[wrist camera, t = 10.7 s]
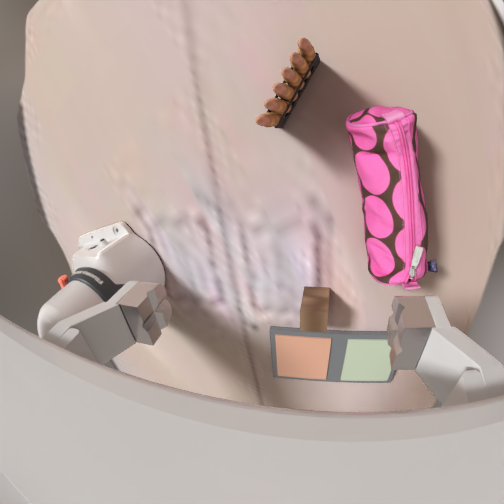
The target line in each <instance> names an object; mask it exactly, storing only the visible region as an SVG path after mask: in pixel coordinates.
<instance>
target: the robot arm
mask: <svg viewBox="0 0 504 504" xmlns="http://www.w3.org/2000/svg"><path fill="white" fill-rule="evenodd" d="M72 268H73V274H72V276H71V278H70V279H69V280H68V277H67V275H63V276H61V277H60V278H58V281H59V283H60V285H61V288H62V289H61V290H60V291H59V292H58V293H57V294H55V295H54V296H53V297H52V298H51V299H50V300H49V301H47V302H46V303H45V304H44V305H43V306H42V308H41V310H40V312H39V316H38V321H37V327H38V332H39V337H38V336H36V335H34V334H32V333H30V332H29V331H27V330H25V329H23V328H21V327H19V326H18V325H16V324H14V323H12V322H10V321H9V320H7V319H6V318H4V317H2V316H1V315H0V504H504V367H503V365H502V363H500V362H499V361H498V360H497V359H495V358H494V357H493V356H491V354H489V353H488V352H487V351H486V350H484V349H483V348H482V347H481V346H479V345H478V344H477V343H475V342H474V341H473V340H472V339H470V338H469V337H468V336H466V335H465V334H464V333H463V332H461V331H460V330H459V329H457V328H456V327H451V325H450V323H449V320H448V318H447V316H446V313H445V311H444V309H443V306H442V304H441V302H440V300H439V298H438V296H437V295H423V296H395V297H394V300H393V303H392V310H393V314H392V315H391V316H390V317H389V321H388V327H387V342H388V345H389V346H390V347H391V350H390V354H389V357H390V364H391V370H415V371H416V373H417V374H418V375H419V376H420V378H421V379H422V380H423V382H424V383H425V384H426V385H427V387H428V388H429V389H430V390H431V392H432V393H433V394H434V396H435V397H436V398H437V400H438V401H439V402H440V403H441V405H442V407H438V408H429V409H419V410H407V411H389V412H331V411H313V410H300V409H289V408H280V407H271V406H264V405H257V404H250V403H244V402H238V401H232V400H227V399H221V398H216V397H212V396H207V395H202V394H198V393H194V392H189V391H185V390H181V389H177V388H174V387H170V386H166V385H163V384H159V383H156V382H152V381H149V380H146V379H142V378H139V377H136V376H133V375H130V374H127V373H124V372H121V371H118V370H115V369H113V368H110V367H107V366H104V365H103V364H105V363H106V362H108V361H109V360H111V359H112V358H114V357H115V356H117V355H118V354H120V353H121V352H123V351H124V350H126V349H127V348H129V347H130V346H132V345H133V344H135V343H136V342H139V343H144V344H148V345H154V344H155V342H156V341H157V340H158V338H159V337H160V335H161V329H163V328H165V327H166V326H167V325H168V324H169V322H170V320H171V316H172V308H171V305H170V302H169V301H168V300H167V299H166V298H165V297H166V295H167V292H166V289H165V287H164V285H165V272H164V268H163V265H162V263H161V261H160V259H159V257H158V255H157V254H156V252H155V251H154V250H153V248H152V247H151V246H150V245H149V244H148V243H147V242H145V241H144V240H143V239H141V238H140V237H138V236H137V235H136V234H134V233H133V231H132V230H131V229H130V227H129V226H128V225H127V224H126V223H125V222H123V221H120V222H117V223H114V224H111V225H108V226H105V227H102V228H99V229H97V230H94V231H91V232H88V233H85V234H83V235H81V236H80V237H79V250H78V251H77V252H76V253H75V254H74V255H73V257H72Z"/></svg>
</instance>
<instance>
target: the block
mask: <svg viewBox="0 0 504 504" xmlns="http://www.w3.org/2000/svg"><path fill="white" fill-rule="evenodd" d="M329 291H330V288H325V287H304V292H303V298H302V303H301V309H300V331H309V332H327V322H328V310H329Z"/></svg>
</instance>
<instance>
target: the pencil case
mask: <svg viewBox="0 0 504 504" xmlns="http://www.w3.org/2000/svg"><path fill="white" fill-rule="evenodd" d="M416 122H417V115H416V113H414V111H413V110H409V109H406V108H402V107H383V106H374V107H371V108H367V109H364V110H361V111H359V112H357V113H353V114H351V115H349V116H348V117H347V118H346V122H345V125H346V128H347V131H348V134H349V138H350V142H351V146H352V149H353V156H354V162H355V166H356V170H357V174H358V182H359V187H360V191H361V195H362V202H363V207H362V209H363V213H364V228H365V242H366V248H367V256H368V270H369V272H370V274H371V275H372V277H373V278H374V279H375V280H376V281H377V282H379V283H381V284H384V285H400V284H402V286H403V288H404V289H405V290H414V289H420V288H421V287H420V286H419V285H418V283H417V281H416V280H418V279H420V278H422V277H423V276H424V275H425V274H426V272H427V270H429V271H430V272H438V271H437V264H436V260H431V261H430V262H427V259H426V253H427V245H428V222H427V213H426V206H425V199H424V193H423V189H422V186H421V182H420V172H419V155H418V135H417V129H416Z"/></svg>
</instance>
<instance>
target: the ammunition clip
mask: <svg viewBox="0 0 504 504" xmlns="http://www.w3.org/2000/svg"><path fill="white" fill-rule="evenodd" d="M298 47H299V48H298V51H299V53H296V52H293V53H291V54H290V61H291V66H292V67H291V68H288V67H286V68H283V69H282V71H281V74H282V76H283V79H284V81H283V83H276V84H274V85H273V90H274V92H275V93H276V96H275V98H272V99H267V100H266V101H265V102H264V106H265V107H266V108H267V109H268V111H267V112H266V113H264V114H261V115H259V116H258V117H257V118H256V123H257V124H258V125H261V126H265V127H272V126H275V128H283V127H284V125H285V123H286V121H287V119H288V117H289V116H290V114H291V112H292V110H293V108H294V107H295V105H296V103H297V101H298V99H299V98H300V96H301V94H302V92H303V90H304V89H305V87H306V85H307V83H308V82H309V80H310V78H311V76H312V74H313V73H314V71H315V69H316V67H317V66H318V64H319V62H320V58H319V55H318V53H315V51H314V47H313V46H312V45H311V44H310V42H309V41H308V39H306V38H303V37H302V38H300V39H299V41H298ZM315 54H316V55H315ZM293 69H294V70H293ZM285 83H287V84H288V85H287V84H285ZM278 96H279V97H280V98H281V99H279V98H278ZM271 111H272V112H271Z"/></svg>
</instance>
